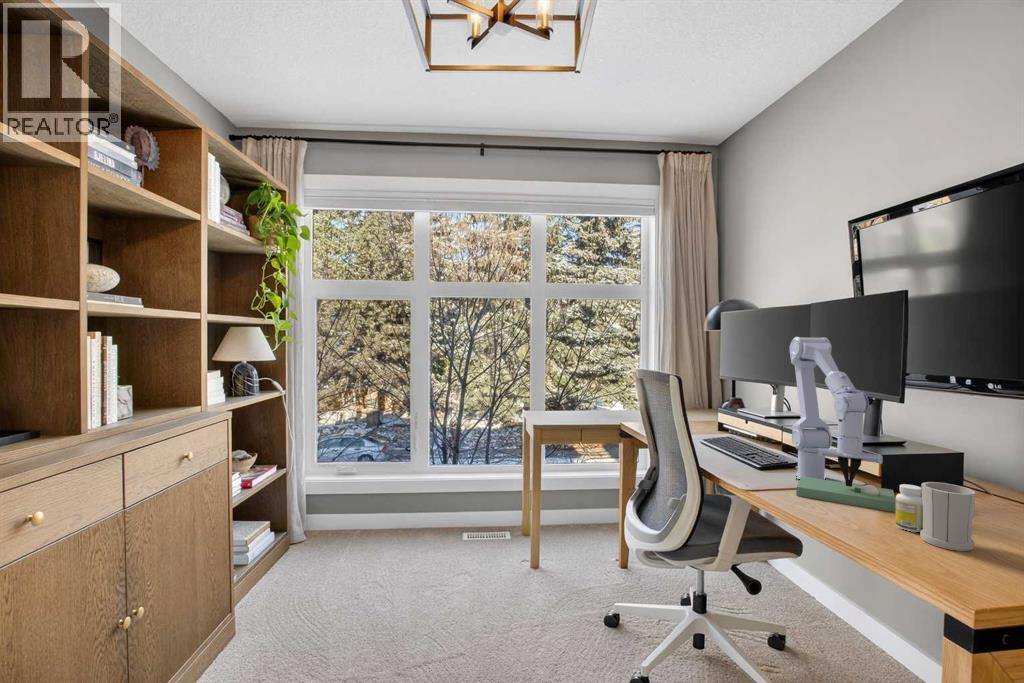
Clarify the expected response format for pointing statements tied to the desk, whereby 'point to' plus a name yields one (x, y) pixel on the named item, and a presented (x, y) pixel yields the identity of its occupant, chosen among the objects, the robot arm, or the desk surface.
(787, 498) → the desk surface
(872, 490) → the ball
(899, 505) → the supplement bottle
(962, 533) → the cup
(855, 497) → the putting board
